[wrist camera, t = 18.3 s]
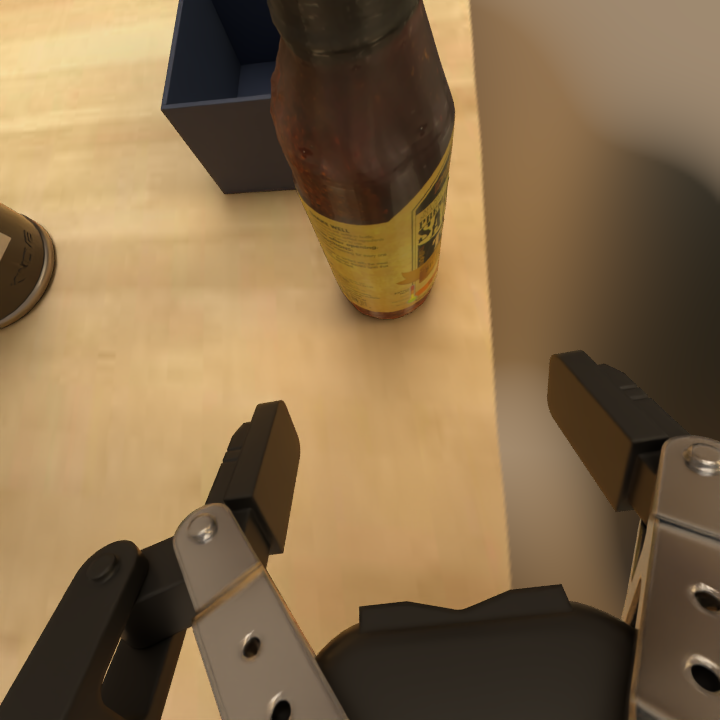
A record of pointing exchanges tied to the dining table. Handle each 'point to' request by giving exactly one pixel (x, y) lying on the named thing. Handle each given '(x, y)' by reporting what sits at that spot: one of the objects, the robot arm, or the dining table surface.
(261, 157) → the carton
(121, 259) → the dining table surface
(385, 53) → the sauce bottle
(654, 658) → the robot arm
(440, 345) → the dining table surface
